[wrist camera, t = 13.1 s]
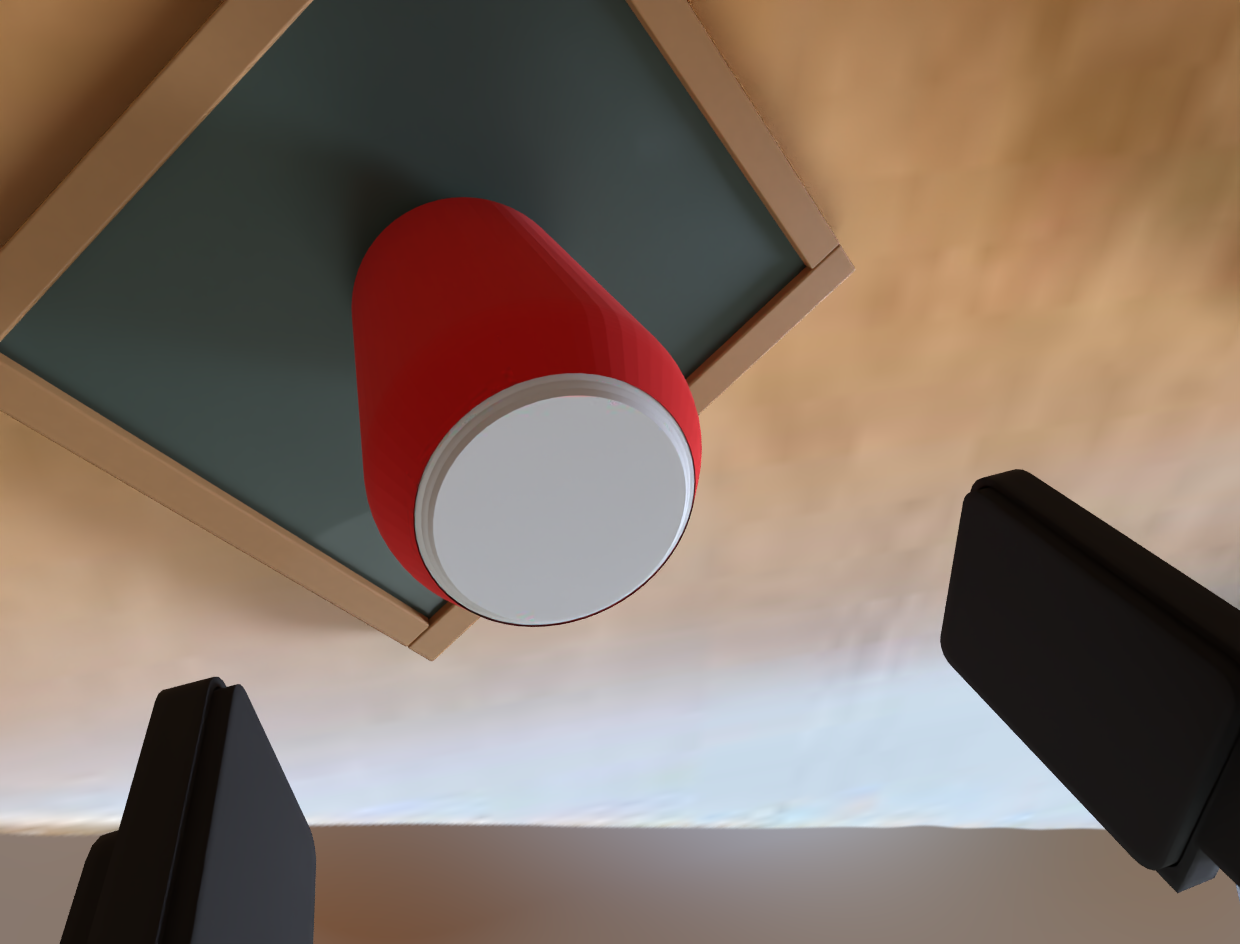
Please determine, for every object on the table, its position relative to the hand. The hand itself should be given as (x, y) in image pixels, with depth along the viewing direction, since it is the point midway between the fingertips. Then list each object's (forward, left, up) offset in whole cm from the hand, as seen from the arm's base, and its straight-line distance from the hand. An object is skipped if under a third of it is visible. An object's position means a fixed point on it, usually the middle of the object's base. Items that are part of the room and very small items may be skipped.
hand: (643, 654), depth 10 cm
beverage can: (0, 0, -16) cm, 16 cm away
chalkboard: (0, 0, -17) cm, 17 cm away
